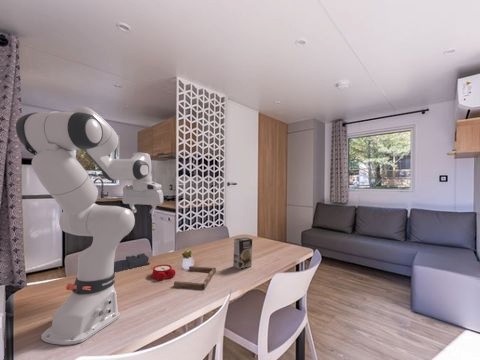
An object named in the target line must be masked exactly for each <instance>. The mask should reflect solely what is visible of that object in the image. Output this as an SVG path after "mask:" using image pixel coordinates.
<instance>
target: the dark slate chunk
mask: <svg viewBox="0 0 480 360" xmlns="http://www.w3.org/2000/svg"><path fill="white" fill-rule="evenodd" d="M149 259H150V258H149V256H147V255H146V254H145V253H143V252H142V253H139V254H136V255H131V256H129V255H128V256H125V259H122V260H116V261H114V272H116V273H119V272H123V271H124V270H125V271H128V269H129V270H134V269H137V267H138V268H142V267H146V266H149V265H150V264H151V263H150V262H148V261H149ZM133 268H134V269H133ZM125 271H124V272H125Z"/></svg>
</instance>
